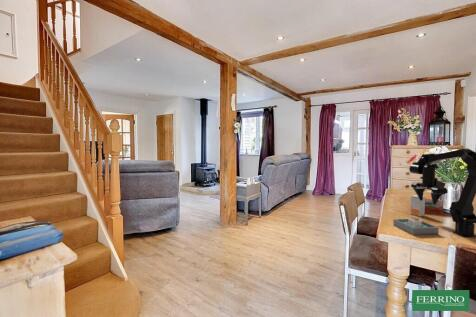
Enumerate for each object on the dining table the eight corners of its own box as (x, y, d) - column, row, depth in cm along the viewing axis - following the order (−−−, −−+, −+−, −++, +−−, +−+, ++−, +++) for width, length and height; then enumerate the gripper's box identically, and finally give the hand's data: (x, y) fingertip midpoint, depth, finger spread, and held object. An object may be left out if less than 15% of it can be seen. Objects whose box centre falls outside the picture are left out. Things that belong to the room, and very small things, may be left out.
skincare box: (410, 213, 152) (410, 195, 151) (414, 213, 153) (415, 194, 152) (420, 216, 146) (420, 197, 145) (424, 215, 148) (425, 196, 147)
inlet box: (438, 234, 119) (438, 227, 118) (412, 235, 118) (413, 228, 118) (416, 224, 133) (416, 218, 132) (393, 225, 132) (393, 219, 132)
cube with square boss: (421, 229, 124) (421, 219, 123) (413, 230, 123) (414, 219, 123) (415, 227, 127) (415, 216, 127) (408, 227, 127) (408, 217, 127)
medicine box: (439, 210, 158) (440, 198, 157) (443, 214, 150) (443, 201, 150) (411, 208, 165) (411, 196, 164) (413, 211, 157) (414, 199, 157)
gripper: (458, 177, 127) (456, 206, 128) (428, 173, 145) (427, 198, 146) (437, 178, 126) (436, 207, 127) (410, 173, 145) (410, 198, 146)
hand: (427, 202), depth 137 cm, fingers open, 9 cm apart
